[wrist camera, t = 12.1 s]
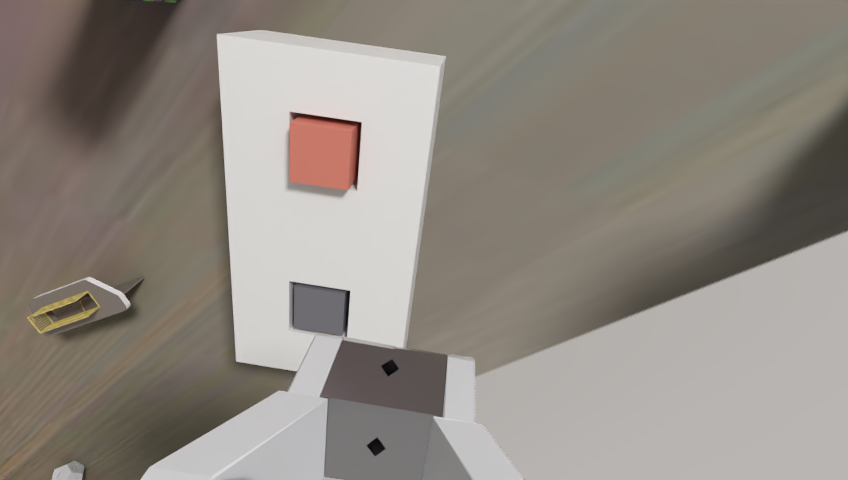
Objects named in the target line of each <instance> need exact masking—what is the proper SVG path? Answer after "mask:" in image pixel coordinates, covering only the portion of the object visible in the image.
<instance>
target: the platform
mask: <svg viewBox="0 0 848 480" xmlns="http://www.w3.org/2000/svg"><path fill="white" fill-rule="evenodd" d="M144 278H145V277H144V276H143V277H140V278H137V279H134V280H132V281H129V282H126V283H123V284H121V285H118V286H115V287H110V286H108V285H106V284H104V283H102V282H100V281H98V280H96V279H94V278H91V277H87V278H84V279H81V280H79V281H76V282H73V283H71V284H68V285H65V286H63V287H60V288H57V289H55V290H52V291H49V292H47V293H44V294H41V295H39V296H37V297H35V298H34V299H32V300H31V301H30V303H29V305H30V308H31V311H32V315H31V316H29V317H27V319H28V320H29V321H30V322H31V323H32V325H33V326H34V327H35V328H36V329H37V330H38V332H39V333H40V334H41V333H43V334H44V335H46V336H48V337H50V336H53V335H56V334H59V333H62V332H65V331H68V330H71V329H73V328H76V327H79V326H82V325H85V324H88V323H91V322H94V321H97V320H100V319H103V318H106V317H108V316H111V315H114V314H117V313H120V312H123V311H125V310H127V309H128V308H129V307H130V302H129V301H128V299H127V298H126V297H125V295H124V294H125V293H127V292H128V291H129V290H130V289H132V288H133V287H134V286H135V285H136V284H138V283H139V282H140V281H141V280H143V279H144ZM87 293H88V294H89V295H90V296H87V297H85V298H82V299H81V300H80V301H78V302H77V303H75V304H74V305H73V306H71V307H70V308H69V309H67V310H66V311H65V312H63V313H62V314H61V315H59V316H58V317H56V316H55V315H54V313H53V312H52V311H51V310H54V309H56V308H59V307H62V306H65V305H68V304H70V303H73V302H76V301H77V300H78V299H80V298H81V297H82V296H84V295H85V294H87ZM32 317H34V318H32ZM30 318H32V319H34V320H33V321H35V322H34V323H36V324H35V325H37V326H35V325H34V323H33V321H31V320H32V319H31V320H30ZM37 327H38V328H39V329H38V328H37Z"/></svg>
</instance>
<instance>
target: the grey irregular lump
mask: <svg viewBox="0 0 848 480" xmlns="http://www.w3.org/2000/svg"><path fill="white" fill-rule="evenodd" d="M84 467H85V466H83V465H82V464H80V463H78V462H76V461H75V460H74V461H72V462H70V463H68V464H65V465H63V466H61V467H59V468H57V469H55V470H54V473H53V477H52V480H82V478H83V473H84Z"/></svg>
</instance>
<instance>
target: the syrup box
mask: <svg viewBox="0 0 848 480" xmlns="http://www.w3.org/2000/svg"><path fill="white" fill-rule="evenodd" d="M134 1H151V2H170V3H176V2H177V0H134Z"/></svg>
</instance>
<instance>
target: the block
mask: <svg viewBox="0 0 848 480" xmlns="http://www.w3.org/2000/svg"><path fill="white" fill-rule="evenodd" d="M217 46H218V63H219V79H220V96H221V113H222V130H223V147H224V164H225V181H226V198H227V215H228V231H229V248H230V265H231V282H232V299H233V316H234V333H235V350H236V362H242V363H248V364H254V365H260V366H267V367H273V368H279V369H285V370H291V371H298V369H299V367H300V365H301V363H302V361H303V359H304V357H305V354H306V352H307V350H308V348H309V346H310V344H311V342H312V340H313V338H314V337H315V336H316V335H317V334H318V333H322V332H316V331H309V330H303V329H297V328H294V286H295V284H296V283H297V282H298V283H304V284H310V285H317V286H323V287H329V288H336V289H342V290H349V291H350V302H349V317H348V323H347V325H346V328H345V330H344V333H343V335H342V337H344V338H345V337H349V338H354V339H360V340H365V341H370V342H376V343H381V344H386V345H392V346H396V347H402V348H406V343H407V338H408V331H409V324H410V316H411V309H412V302H413V294H414V287H415V280H416V273H417V265H418V258H419V251H420V243H421V236H422V229H423V221H424V214H425V207H426V199H427V192H428V185H429V178H430V170H431V163H432V156H433V148H434V141H435V134H436V126H437V119H438V112H439V105H440V97H441V90H442V83H443V75H444V68H445V61H446V56H440V55H433V54H426V53H419V52H412V51H405V50H398V49H391V48H384V47H377V46H370V45H363V44H356V43H349V42H342V41H335V40H328V39H321V38H314V37H307V36H300V35H294V34H287V33H280V32H273V31H266V30H255V31H245V32H235V33H224V34H217ZM302 114H309V115H316V116H323V117H329V118H336V119H343V120H350V121H356V122H362V127H361V141H360V156H359V170H358V177H357V178H356V179H355V181H354V182H353V184H352V185H351V187H350V188H349V190H342V189H335V188H328V187H322V186H315V185H309V184H302V183H295V182H289V154H290V122H291V121H292V120H294V119H296V118H297V117H299V116H301V115H302ZM325 334H328V333H325ZM331 335H335V334H331ZM336 336H341V335H336Z"/></svg>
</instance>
